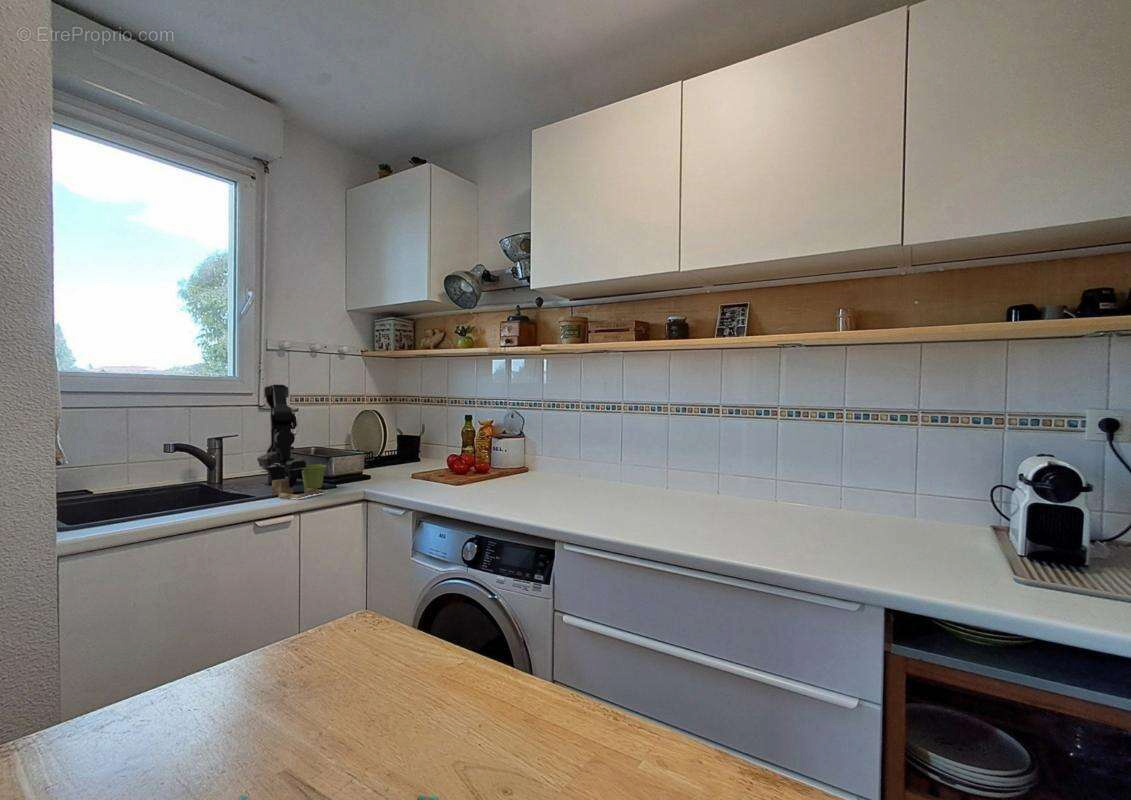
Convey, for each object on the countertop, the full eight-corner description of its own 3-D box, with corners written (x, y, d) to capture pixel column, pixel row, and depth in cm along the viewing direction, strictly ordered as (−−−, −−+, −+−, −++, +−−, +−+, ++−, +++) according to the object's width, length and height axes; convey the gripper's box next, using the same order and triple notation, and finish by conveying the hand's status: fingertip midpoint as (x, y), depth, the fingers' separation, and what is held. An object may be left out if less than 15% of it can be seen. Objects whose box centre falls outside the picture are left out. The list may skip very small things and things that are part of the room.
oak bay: (278, 497, 181) (278, 493, 181) (306, 491, 191) (306, 487, 191) (297, 500, 177) (297, 495, 177) (324, 494, 187) (324, 490, 187)
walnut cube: (272, 494, 187) (271, 480, 187) (284, 491, 192) (284, 478, 192) (281, 495, 185) (280, 481, 185) (293, 493, 190) (293, 479, 190)
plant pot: (300, 487, 201) (299, 465, 200) (326, 485, 204) (326, 463, 204) (298, 491, 192) (298, 468, 192) (326, 489, 196) (326, 467, 196)
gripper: (244, 445, 185) (245, 488, 185) (278, 447, 177) (279, 492, 177) (273, 442, 195) (274, 483, 195) (307, 444, 187) (307, 487, 187)
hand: (282, 486), depth 189 cm, fingers open, 9 cm apart
